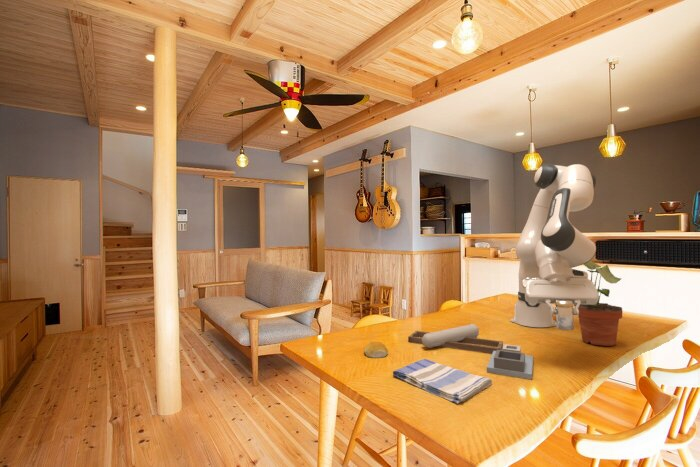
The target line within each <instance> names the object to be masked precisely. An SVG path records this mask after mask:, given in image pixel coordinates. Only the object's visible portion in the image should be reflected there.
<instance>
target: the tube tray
mask: <svg viewBox="0 0 700 467" xmlns="http://www.w3.org/2000/svg"><path fill="white" fill-rule="evenodd" d="M427 333H431V332H429V331H420V330H416V331H414V332H412V333H411V334H410V335H409V336H408V337H407V338H408V340H407V342H408V343H412V344H413V343H414V344H421V345H423V343H422V337H423V336H424V335H425V334H427ZM503 346H504V342H503V341H502V340H493V339H488V338H487V339H485V338H479V337H477V338H471V337H466V338H464V339H463V340H462V341H458V342H450V341H447V342H445V343H444V344H443V345H441V346H440V347H441V348H448V349H457V350H463V351H470V352H477V353H484V354H491V355H492V353H493V351H497V350H503Z"/></svg>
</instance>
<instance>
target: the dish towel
mask: <svg viewBox="0 0 700 467" xmlns="http://www.w3.org/2000/svg"><path fill="white" fill-rule="evenodd" d="M392 374H393V375H392V376H393V377H395V378H398V379H399V380H402V381H404V382H406V383H408V384H409V385H412V386H414V387H417V388H419V389H422V390H424V391H425V392H427V393H429V394H432V395H434V396H437V397H440V398H443V399H446V400H447V401H450V402H452V403H455V404H457V405H458V404H460V403H464V402H465V401H467V400H469V399H470V398H471V397H473V396H474V395H476V394H478V393H479V392H481V391H483V390H485V389H487V388H488V387H490V386H492V384H493V380H492V379H491V378H490V377H486V376H481V375H476V374H472V373H470V372H468V371H465V370H464V371H463V370H461V369H457V368H454V367H451V366H448V365H446V364H441V363H437V362H436V361H433V360H430V359H427V358H424V359H421V360H417V361H415V362H412V363H410V364H408V365H405V366H403V367H401V368H399V369H395V370H393V371H392Z"/></svg>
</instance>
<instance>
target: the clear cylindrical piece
mask: <svg viewBox="0 0 700 467" xmlns="http://www.w3.org/2000/svg"><path fill="white" fill-rule="evenodd" d="M554 305H555V307H556V310H557V315H555V318H556V319H555V321H556V322H557V326H556V329H558V330H563V331H574V329H575V326H574V315H573V308H574V304H573V302H572V301H571V300H564V299H559V300H556V301H555V304H554Z"/></svg>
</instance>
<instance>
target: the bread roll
mask: <svg viewBox="0 0 700 467" xmlns="http://www.w3.org/2000/svg"><path fill="white" fill-rule="evenodd" d="M363 353H364V354H365V355H366V357H368V358H372V359H380V358H385V357H386V356H387V355H388V354H389V349H388V348H387V347H386V346H385V344H384V343H382V342H379V341H372V342H370V343H368V344H367V345H365V347H364V352H363Z"/></svg>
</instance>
